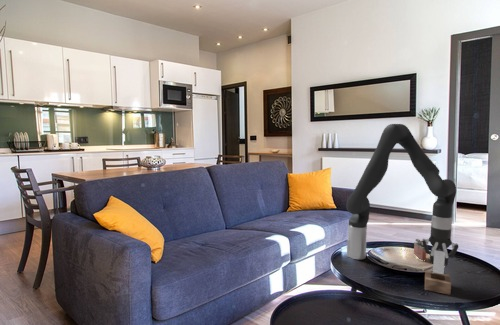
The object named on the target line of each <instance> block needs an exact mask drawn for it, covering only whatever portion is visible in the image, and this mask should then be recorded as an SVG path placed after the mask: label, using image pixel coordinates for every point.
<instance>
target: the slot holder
mask: <svg viewBox="0 0 500 325" xmlns="http://www.w3.org/2000/svg"><path fill="white" fill-rule="evenodd" d="M424 290H425V291H429V292H430V291H431V292H435V293H441V294H444V295H449V296H451V294H452V293H451V290H452V281H451V276H450V274H447V273H444V274H439V273H433V270H432V271H431V270H426V269H425V270H424Z"/></svg>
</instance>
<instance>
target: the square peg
mask: <svg viewBox="0 0 500 325" xmlns="http://www.w3.org/2000/svg"><path fill="white" fill-rule="evenodd" d="M444 262H445V252H444V250H441V249H436V250H434V261H433V264H432V272H433V273H439V274H445V272H444V271H445V266H444Z"/></svg>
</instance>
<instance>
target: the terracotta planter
mask: <svg viewBox="0 0 500 325" xmlns="http://www.w3.org/2000/svg"><path fill="white" fill-rule="evenodd" d="M413 246H414V247H413V254H415V255H416V256H417V257H418V258H419V259H421V260H423V261H424V260H426V261H427V259H426V258H427V253H426V251H425V248H424V245H423V242H422V240H420V239H419V238H415V242H413Z"/></svg>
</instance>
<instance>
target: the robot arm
mask: <svg viewBox="0 0 500 325" xmlns="http://www.w3.org/2000/svg"><path fill="white" fill-rule="evenodd" d="M397 144H398V145H399V146H401V148H402V149H403V150H405V151H406V153H407V154H408V155H409V156H408V157H409V159H410V162H411V163H412V166H413V167H414V168H415V170H416V171H417V172H418V173H419V174H420V176H421V177H422V179H423V180H424V181H425V184H426V186H427V188H428V189H429V191H430V192H431V193H432V194H433V195H434V196H435V197H437V198H436V200H435V201H434V203H433V205H432V216H431V222H430V234H429V235H430V236H429V238H422V240H421V241H422V242H423V245H424V248H425V251H426V255H429V263H431V265H433V261H434V250H436V249H441V250H444V252H445V262H444V267H447V266H448V265H449V264H448V262H449V258H451V259H452V258H454V257H455V255H456V254H457V251H458V249H459V244H458V243H455V242H453V241H452V240H451V239H452V238H451V237H452V225H453V223H452V222H453V221H452V217H453V216H452V215H453V205H454V202H455V199H456V194H457V185H456V183H455V182H454V181H453V180H451V179H449V178H448V179H443V178H442V177H441V175H440V169H439V168H438V167H437V165H436V164H435V163H434V162H433V161H432V160H431V158H430V157H429V156H428V155H427V154H426V153H425V151H424V150H423V148H422V147H421V146H420V145H419V143H418V142H417V140H416V139H415V137H414V135H413V134H412V132H411V130H410V129H409V127H407V125H406V124H402V123H391V124H388V125H386V126H385V128H384V129H383V131H382V133H381V136H380V138H379V140H378V143H377V146H376V148H375V150H374V152H373V154H372V156H371V158H370V160H369V162H368V163H367V165H366V167H365V169H364V171H363V172H362V176H361V177H360V179H359V181H358V183H357V185H356V187H355V188H354V190H353V191H352V193H351V195H350V196H349V197H348V199H347V200H346V204H345V206H346V210H347V212H348V213H350V214H351V216H350V218H349V219H348V234H347V235H348V236H347V240H346V241H347V242H346V257H348V258H350V259H353V260H364V259H366V255H367V237H368V236H367V231H368V222H369V221H370V208H371V204H370V200H369V198H368V196H369V194H370V193H371V192H372V191H373V190H374V189H375V188H376V187H377V186H378V185H379V184H380V183H381V182H382V180H383V178H384V176H385V175H386V174H387V171H388V167H389V159H390V155H391V153H392V151H393V150H394V147H395V146H396V145H397ZM429 243H430V245H431V246H432V247H431V249H430V250H429V247H428V245H429ZM450 246H451V248H452V249H451V250H450V252H449V253H448V249H449V247H450Z"/></svg>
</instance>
